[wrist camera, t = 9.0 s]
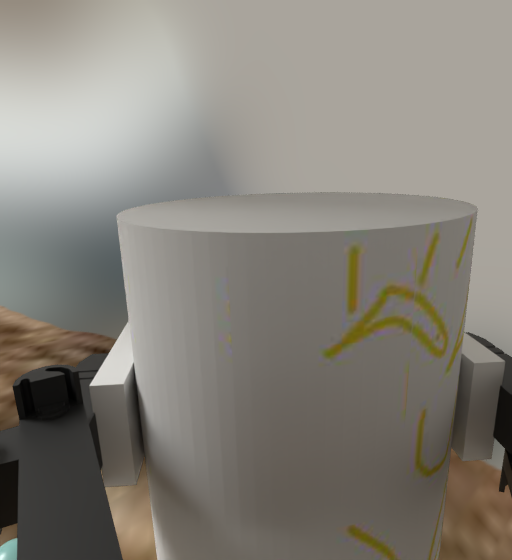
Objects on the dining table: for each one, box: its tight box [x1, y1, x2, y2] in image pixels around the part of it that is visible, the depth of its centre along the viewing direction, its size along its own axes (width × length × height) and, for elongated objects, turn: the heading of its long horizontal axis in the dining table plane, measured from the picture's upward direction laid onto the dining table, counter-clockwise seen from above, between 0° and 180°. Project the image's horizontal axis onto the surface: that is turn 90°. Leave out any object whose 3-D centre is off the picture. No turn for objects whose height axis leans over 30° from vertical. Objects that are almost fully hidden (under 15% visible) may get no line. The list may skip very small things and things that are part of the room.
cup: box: [117, 192, 477, 560], centre depth 12 cm, size 8×8×12 cm
